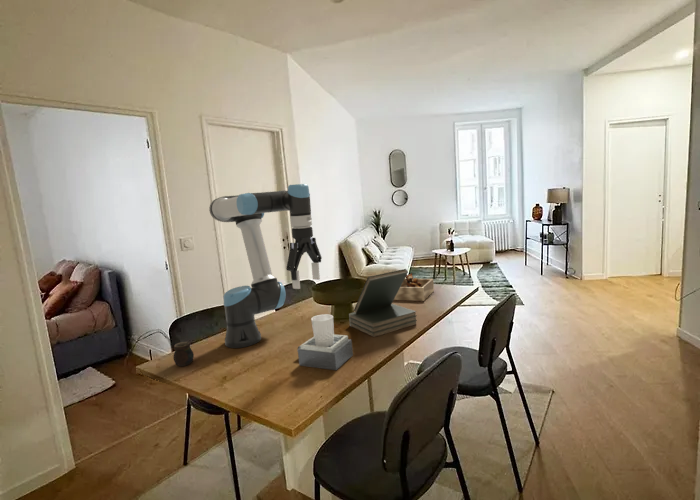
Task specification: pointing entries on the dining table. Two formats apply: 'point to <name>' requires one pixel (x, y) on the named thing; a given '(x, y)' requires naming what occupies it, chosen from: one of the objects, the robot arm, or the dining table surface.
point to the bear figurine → (412, 281)
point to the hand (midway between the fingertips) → (306, 283)
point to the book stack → (381, 306)
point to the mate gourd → (183, 354)
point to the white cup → (323, 330)
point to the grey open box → (325, 353)
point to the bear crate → (415, 290)
